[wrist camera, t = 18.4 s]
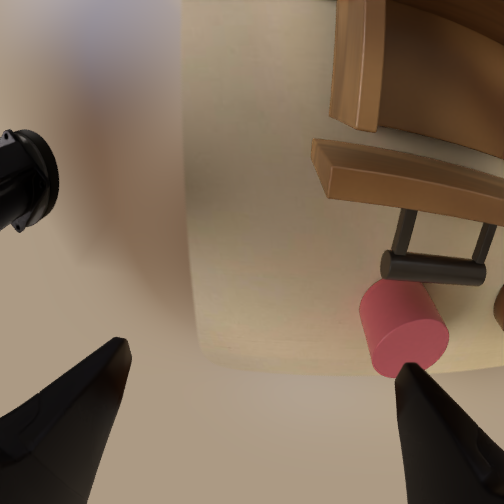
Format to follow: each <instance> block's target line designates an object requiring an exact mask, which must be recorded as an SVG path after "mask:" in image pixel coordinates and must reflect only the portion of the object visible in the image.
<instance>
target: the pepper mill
mask: <svg viewBox="0 0 504 504" xmlns="http://www.w3.org/2000/svg"><path fill="white" fill-rule="evenodd" d="M494 316H495V319H496V320H497V322H498V323H499V325H500V327H501V328H502V330H503V331H504V285H503V287H502V288H501V290H500V292H499V294H498V296H497V298H496V301H495V304H494Z"/></svg>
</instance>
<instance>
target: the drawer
mask: <svg viewBox="0 0 504 504" xmlns="http://www.w3.org/2000/svg"><path fill="white" fill-rule="evenodd" d="M329 116H330V117H332V118H334V119H336V120H338V121H340V122H342V123H344V124H346V125H348V126H350V127H352V128H354V129H356V130H360V131H366V132H372V133H375V132H376V131H377V126H378V125H379V126H384V127H389V128H393V129H398V130H403V131H407V132H412V133H416V134H420V135H424V136H428V137H432V138H436V139H440V140H443V141H447V142H451V143H454V144H458V145H461V146H464V147H468V148H471V149H474V150H477V151H480V152H483V153H486V154H489V155H492V156H495V157H498V158H501V159H503V160H504V0H337V5H336V28H335V46H334V61H333V75H332V87H331V98H330V109H329ZM311 160H312V163H313V165H314V167H315V170H316V172H317V174H318V177H319V179H320V182H321V184H322V187H323V189H324V191H325V194H326V196H327V198H329V199H337V200H346V201H354V202H361V203H369V204H376V205H383V206H390V207H397V208H401V212H400V216H399V220H398V225H397V229H396V233H395V236H394V240H393V244H392V248H391V249H392V250H386V251H384V253H383V255H382V258H381V264H380V271H381V276H382V278H383V279H385V280H397V281H410V282H423V283H437V284H452V285H466V286H480V285H482V284H483V283H484V281H485V278H486V266H485V264H484V262H485V259H486V256H487V254H488V251H489V248H490V245H491V242H492V240H493V237H494V234H495V231H496V228H497V225H498V226H503V227H504V179H503V178H500V177H497V176H494V175H491V174H487V173H484V172H481V171H477V170H474V169H470V168H466V167H463V166H459V165H455V164H451V163H447V162H443V161H439V160H435V159H431V158H426V157H422V156H418V155H413V154H408V153H403V152H398V151H393V150H388V149H383V148H377V147H371V146H365V145H359V144H353V143H346V142H339V141H332V140H324V139H316V138H314V139H313V140H312V149H311ZM418 211H423V212H429V213H435V214H441V215H446V216H452V217H458V218H463V219H468V220H474V221H479V222H484V223H483V226H482V229H481V232H480V235H479V238H478V241H477V244H476V247H475V250H474V253H473V255H472V259H465V258H457V257H448V256H439V255H431V254H422V253H412V252H407V249H408V245H409V242H410V238H411V235H412V231H413V227H414V224H415V220H416V216H417V212H418Z"/></svg>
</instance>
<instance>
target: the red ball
mask: <svg viewBox="0 0 504 504" xmlns="http://www.w3.org/2000/svg"><path fill="white" fill-rule="evenodd" d="M359 313H360V317H361V321H362V325H363V329H364V332H365V336H366V340H367V344H368V348H369V352H370V356H371V360H372V364H373V367H374V369H375V370H376V371H377V372H378V373H379V374H381V375H383V376H385V377H390V378H396V377H397V375H398V373H399V371H400V370H401V368H402V366H403V364H404V363H406V362H416V363H417V364H419V365H420V366H421V367H422V368H423V369H424V370H425V369H427V368H429V367H430V366H431V365H433V364H434V363H435V362H436V361H437V360H438V359H439V358H440V357H441V356H442V354H443V353H444V351H445V350H446V348H447V345H448V341H449V332H448V329H447V327H446V325H445V323H444V321H443V320H442V318H441V316H440V314H439V312H438V310H437V308H436V307H435V305H434V303H433V301H432V300H431V298H430V296H429V294H428V293H427V291H426V289H425V287H424V286H423V284H422V283H421V282H410V281H397V280H385V279H381V280H379V281H378V282H376V283H375V284H373V285H372V286H371V287H370V288H369V289H368V290H367V292H366V293H365V295H364V296H363V298H362V300H361V303H360V308H359Z"/></svg>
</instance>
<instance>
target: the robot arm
mask: <svg viewBox="0 0 504 504" xmlns="http://www.w3.org/2000/svg"><path fill="white" fill-rule="evenodd" d="M43 182H44V184H45V186H44V184H43ZM49 187H50V181H49V179H48V178H47V177H46V175H45V174H44V173H43V172H42V170H41V169H40V168H39V166H38V165H37V164H36V163H35V161H34V160H33V159H32V157H31V156H30V155H29V153H28V152H27V151H26V149H25V148H24V147H23V145H22V144H21V142H20V141H19V140H18V138H17V137H16V136H15V134H14V133H13V131H12V130H10V129H9V130H6V131H4V132H3V135H2V137H1V139H0V231H1V230H2V229H3V228H5V227H6V226H8V225H9V224H11V225H12V226H13V227H14V228H15V230H16V231H17V232H19V233H21V232H22V231H23V230H24V229H25V227H26V226H27V224H28V222H29V220H30V218H31V217H32V215H33V213H34V212H35V210H36V208H37V207H38V205H39V203H40V202H41V200H42V198H43V197H44V195H45V194H46V192H47V190H48V189H49ZM131 362H132V355H131V351H130V348H129V345H128V341H127V340H126V339H125V338H120V337H114V338H112V339H111V340H110V341H108V342H107V343H105V344H104V345H103V346H101V347H100V348H99V349H97V350H96V351H94V352H93V353H92V354H90V355H89V356H88V357H86V358H85V359H83V360H82V361H81V362H80V363H78V364H77V365H76V366H74V367H73V368H71V369H70V370H69V371H67V372H66V373H64V374H63V375H62V376H60V377H59V378H58V379H56V380H55V381H54V382H52V383H51V384H49V385H48V386H47V387H45V388H44V389H43V390H42V391H40V393H37V394H36V395H34V396H33V397H32V398H30V399H29V400H28V401H26V402H25V403H23V404H22V405H20V406H19V407H17V408H16V409H14V410H13V411H11V412H9V413H8V414H6V415H4V416H2V417H1V418H0V504H87V500H88V498H89V495H90V491H91V488H92V485H93V482H94V479H95V475H96V472H97V469H98V466H99V463H100V460H101V457H102V454H103V451H104V448H105V445H106V443H107V440H108V437H109V434H110V431H111V428H112V426H113V423H114V420H115V417H116V415H117V412H118V409H119V407H120V404H121V400H122V397H123V393H124V389H125V385H126V381H127V377H128V373H129V370H130V366H131ZM395 394H396V408H397V421H398V429H399V436H400V442H401V449H402V456H403V464H404V471H405V480H406V490H407V500H408V504H504V451H503V450H502V449H501V448H500V447H499V446H498V445H497V444H496V443H495V442H494V441H493V440H492V439H491V438H490V437H489V436H488V435H487V434H486V433H485V432H484V431H483V430H482V429H481V428H480V427H478V425H477V424H476V423H475V422H474V421H473V420H472V419H471V418H470V416H468V414H467V413H466V412H465V411H464V410H463V409H462V408H461V407H460V406H459V405H458V404H457V403H456V402H455V401H454V400H453V399H452V398H451V397H450V396H449V395H448V394H447V393H446V392H445V391H444V390H443V389H442V388H441V387H440V386H439V384H437V382H436V381H435V380H434V379H433V378H432V377H431V376H430V375H429V374H428V373H427V372H426V371H425V370H424V369H423V368H422V367H421V366H420V365H419V364H417V363H416V362H406V363H404V364H403V366H402V368H401V370H400V371H399V373H398V375H397V377H396V379H395Z"/></svg>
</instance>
